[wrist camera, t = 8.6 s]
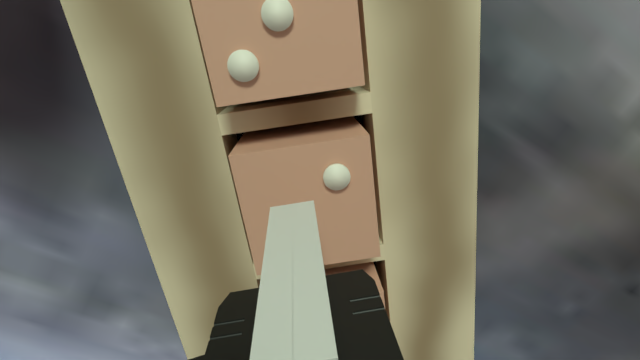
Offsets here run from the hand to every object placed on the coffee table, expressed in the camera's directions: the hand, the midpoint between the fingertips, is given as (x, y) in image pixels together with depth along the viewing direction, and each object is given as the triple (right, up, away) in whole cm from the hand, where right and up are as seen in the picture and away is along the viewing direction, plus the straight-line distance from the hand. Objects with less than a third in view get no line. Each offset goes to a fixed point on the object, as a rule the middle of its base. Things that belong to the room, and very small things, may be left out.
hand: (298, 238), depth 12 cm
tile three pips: (-1, +9, +4) cm, 10 cm away
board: (0, +2, +7) cm, 7 cm away
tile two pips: (0, +2, +7) cm, 7 cm away
